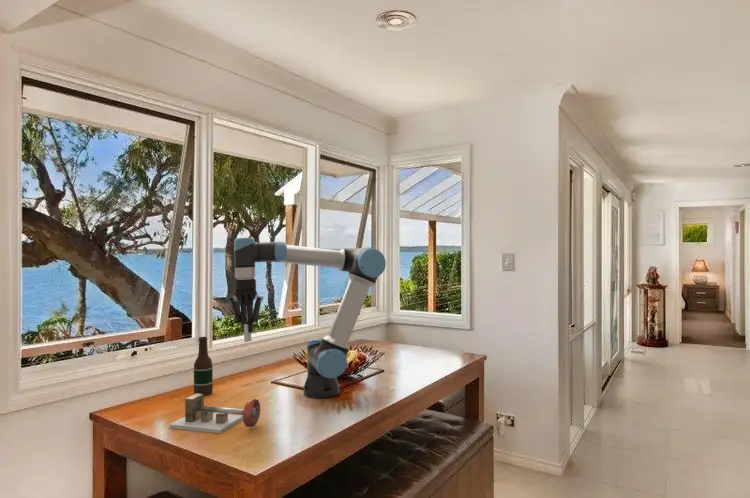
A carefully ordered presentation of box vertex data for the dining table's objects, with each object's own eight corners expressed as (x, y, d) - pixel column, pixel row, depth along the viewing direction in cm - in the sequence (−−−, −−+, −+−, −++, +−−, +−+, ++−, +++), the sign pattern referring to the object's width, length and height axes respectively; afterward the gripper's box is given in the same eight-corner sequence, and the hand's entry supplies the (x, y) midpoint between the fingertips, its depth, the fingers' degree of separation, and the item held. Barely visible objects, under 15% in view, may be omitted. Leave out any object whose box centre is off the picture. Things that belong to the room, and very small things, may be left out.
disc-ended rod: (263, 422, 170) (262, 395, 170) (249, 431, 161) (248, 404, 161) (212, 417, 175) (212, 391, 175) (196, 426, 167) (196, 399, 167)
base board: (242, 419, 175) (242, 415, 175) (220, 433, 161) (220, 429, 161) (195, 414, 180) (195, 411, 180) (169, 427, 167) (169, 424, 167)
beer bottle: (206, 396, 202) (206, 339, 202) (189, 395, 204) (189, 338, 204) (216, 391, 210) (216, 335, 210) (200, 390, 211) (199, 335, 212)
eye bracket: (230, 418, 172) (229, 396, 172) (219, 425, 166) (219, 401, 166) (196, 415, 176) (196, 393, 176) (185, 421, 170) (185, 398, 170)
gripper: (265, 277, 185) (268, 339, 185) (234, 278, 188) (237, 339, 188) (256, 279, 178) (259, 343, 178) (224, 279, 181) (227, 343, 181)
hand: (247, 341), depth 183 cm, fingers closed
